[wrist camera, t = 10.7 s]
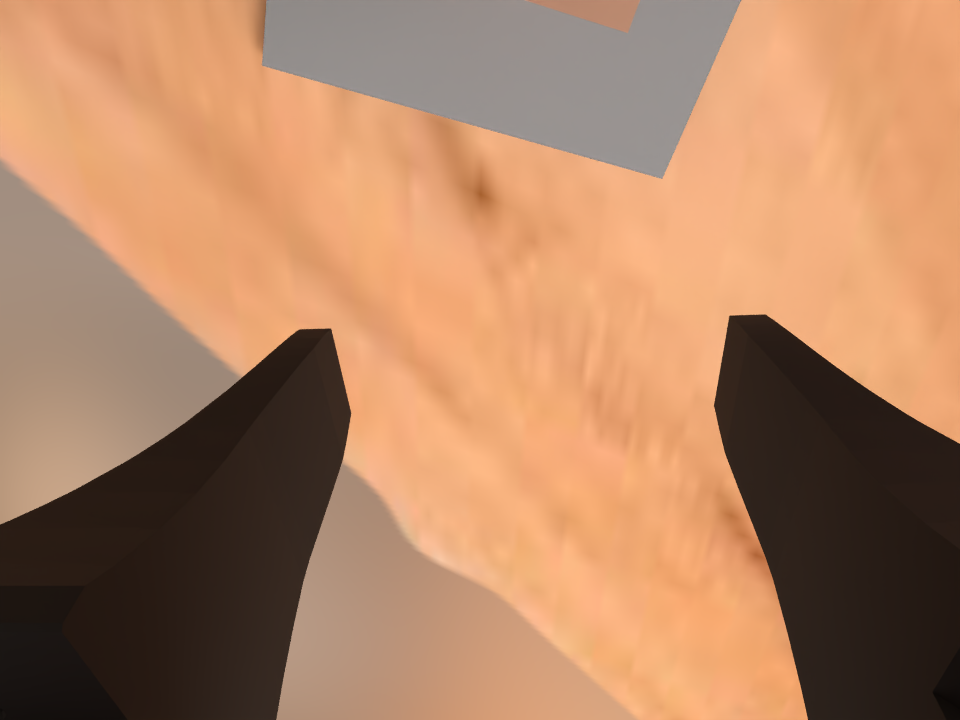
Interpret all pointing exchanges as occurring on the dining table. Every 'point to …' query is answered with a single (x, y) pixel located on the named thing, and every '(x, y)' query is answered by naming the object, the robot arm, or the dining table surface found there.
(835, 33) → the dining table surface
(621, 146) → the slate mat
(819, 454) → the robot arm
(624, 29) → the terracotta block
